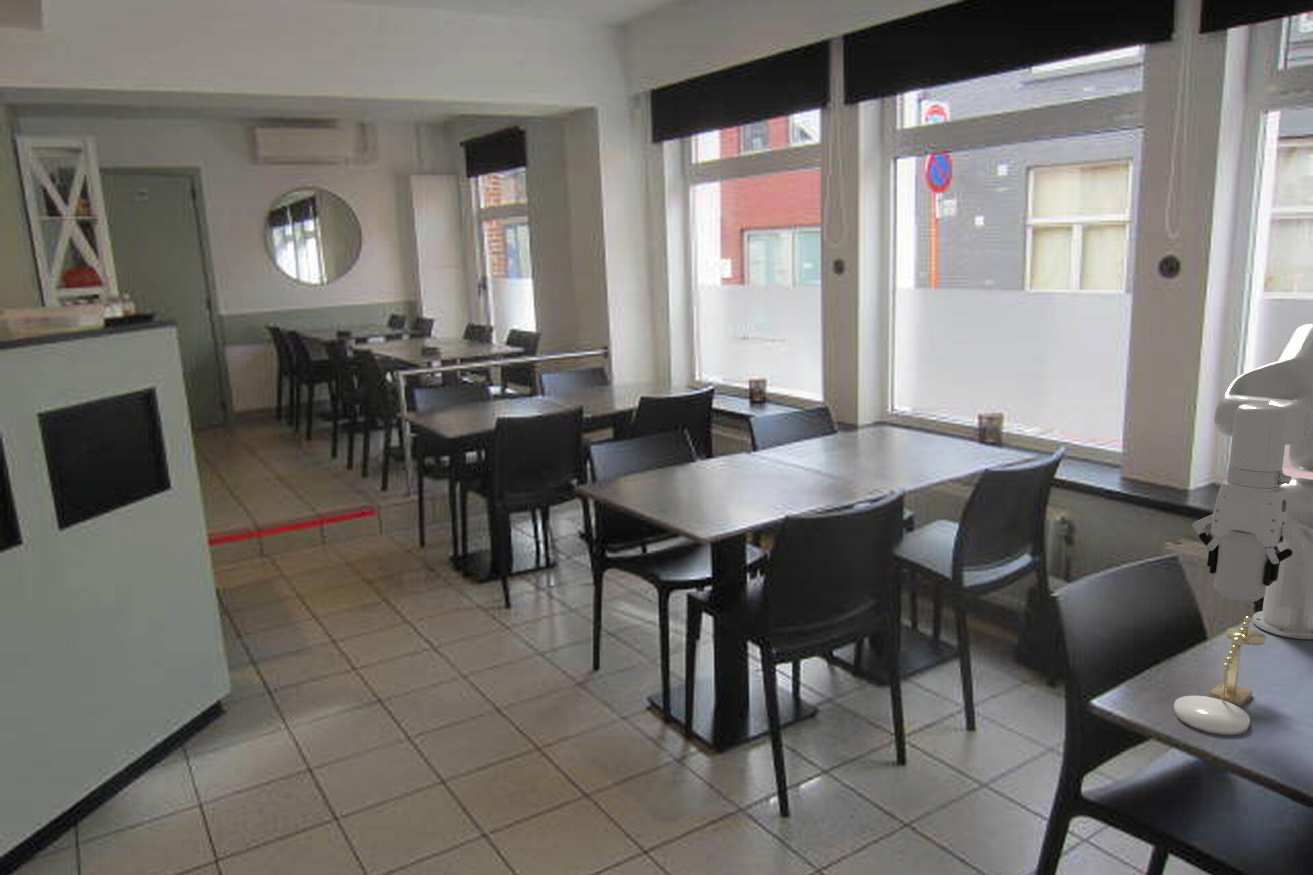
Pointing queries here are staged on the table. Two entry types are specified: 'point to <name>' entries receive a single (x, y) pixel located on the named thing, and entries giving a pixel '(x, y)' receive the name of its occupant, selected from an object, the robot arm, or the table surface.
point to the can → (1241, 567)
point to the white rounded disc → (1211, 715)
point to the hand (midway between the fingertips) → (1240, 576)
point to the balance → (1236, 665)
